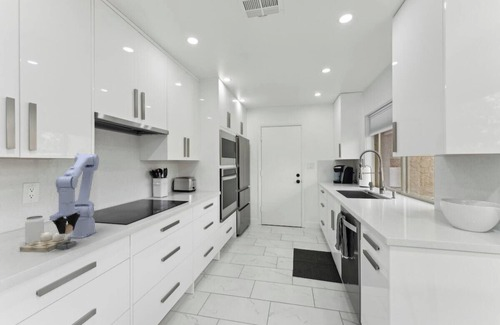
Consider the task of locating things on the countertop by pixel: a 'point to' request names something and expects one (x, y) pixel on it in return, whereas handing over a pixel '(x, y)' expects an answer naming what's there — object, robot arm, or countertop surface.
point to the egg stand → (66, 245)
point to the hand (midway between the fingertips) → (66, 232)
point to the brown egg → (68, 229)
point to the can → (33, 229)
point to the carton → (42, 246)
